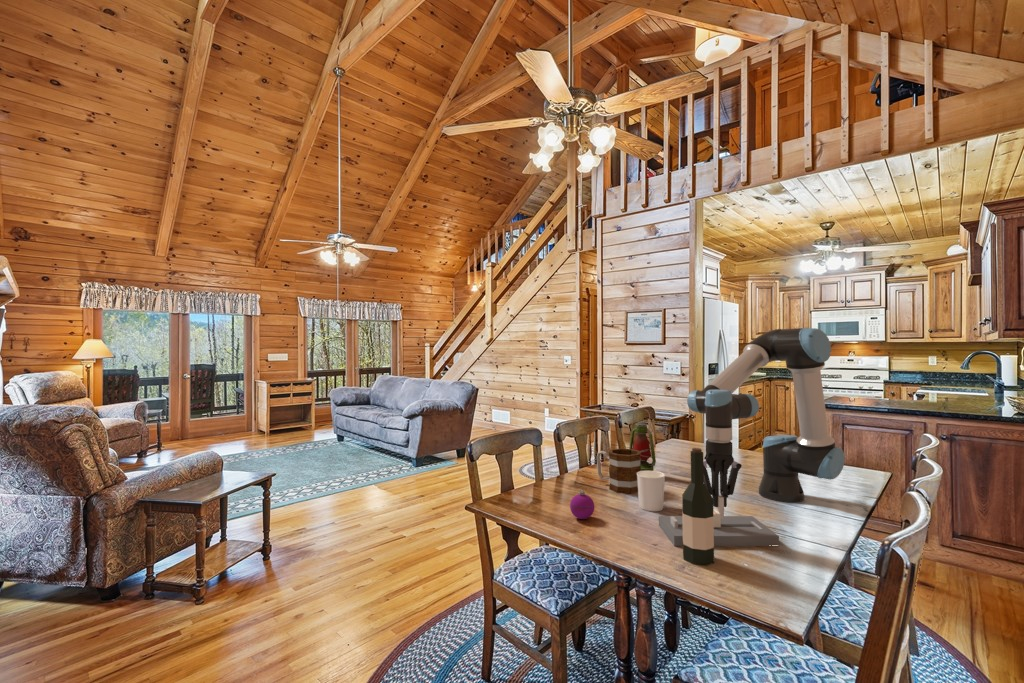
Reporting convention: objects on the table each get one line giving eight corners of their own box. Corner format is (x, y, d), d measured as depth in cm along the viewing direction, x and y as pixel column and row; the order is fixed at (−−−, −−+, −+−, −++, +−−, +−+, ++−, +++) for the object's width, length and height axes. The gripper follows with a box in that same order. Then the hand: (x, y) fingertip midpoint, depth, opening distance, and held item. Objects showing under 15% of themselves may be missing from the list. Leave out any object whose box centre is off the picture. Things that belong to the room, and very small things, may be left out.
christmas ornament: (567, 521, 158) (567, 491, 158) (573, 513, 165) (573, 484, 166) (591, 524, 155) (591, 493, 155) (596, 515, 162) (596, 486, 163)
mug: (648, 487, 193) (647, 451, 194) (633, 496, 183) (632, 457, 183) (605, 479, 206) (604, 445, 206) (589, 486, 196) (588, 450, 196)
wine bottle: (676, 552, 133) (675, 446, 133) (705, 551, 134) (704, 445, 134) (690, 566, 125) (689, 452, 125) (720, 565, 126) (719, 451, 126)
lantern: (622, 474, 213) (621, 408, 214) (634, 470, 221) (634, 405, 221) (649, 480, 203) (649, 411, 204) (662, 475, 211) (661, 408, 211)
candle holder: (666, 513, 165) (666, 478, 165) (637, 511, 167) (637, 477, 167) (663, 503, 174) (663, 471, 174) (636, 502, 176) (635, 469, 176)
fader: (714, 521, 148) (713, 507, 148) (720, 527, 143) (720, 513, 143) (706, 521, 148) (706, 507, 148) (712, 527, 143) (712, 513, 143)
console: (752, 525, 153) (752, 509, 153) (779, 546, 137) (778, 529, 137) (658, 525, 153) (658, 509, 153) (674, 546, 137) (674, 528, 137)
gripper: (734, 437, 149) (735, 513, 149) (693, 438, 149) (693, 513, 149) (746, 442, 141) (747, 521, 141) (702, 442, 142) (702, 521, 141)
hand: (719, 517), depth 145 cm, fingers closed
